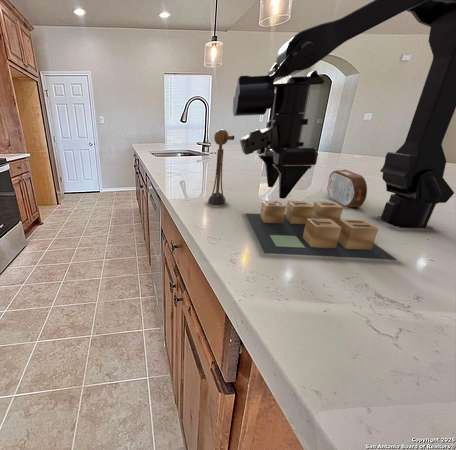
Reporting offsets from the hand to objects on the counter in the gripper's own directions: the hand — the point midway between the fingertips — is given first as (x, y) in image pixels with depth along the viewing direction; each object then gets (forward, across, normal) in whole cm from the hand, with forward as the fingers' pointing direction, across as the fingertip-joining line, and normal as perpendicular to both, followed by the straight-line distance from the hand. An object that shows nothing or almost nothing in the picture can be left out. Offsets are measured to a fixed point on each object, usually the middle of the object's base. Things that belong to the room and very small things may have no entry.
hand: (275, 192), depth 53 cm
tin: (+7, -16, +22) cm, 28 cm away
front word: (+7, +11, +8) cm, 15 cm away
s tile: (+6, 0, 0) cm, 7 cm away
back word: (+7, 0, +8) cm, 10 cm away
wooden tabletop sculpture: (+7, -12, -11) cm, 18 cm away
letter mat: (+7, +6, +5) cm, 11 cm away
